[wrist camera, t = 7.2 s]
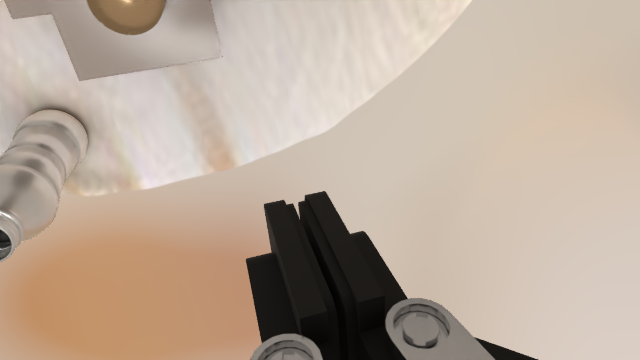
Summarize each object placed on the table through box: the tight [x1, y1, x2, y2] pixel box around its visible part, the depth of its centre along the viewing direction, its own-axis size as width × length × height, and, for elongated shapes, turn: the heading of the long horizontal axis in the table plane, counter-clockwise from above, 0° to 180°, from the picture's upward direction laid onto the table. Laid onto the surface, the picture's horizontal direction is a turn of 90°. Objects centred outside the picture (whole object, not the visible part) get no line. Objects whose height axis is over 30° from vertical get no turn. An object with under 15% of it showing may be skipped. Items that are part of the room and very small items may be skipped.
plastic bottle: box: [0, 110, 88, 262], centre depth 37 cm, size 6×7×20 cm
